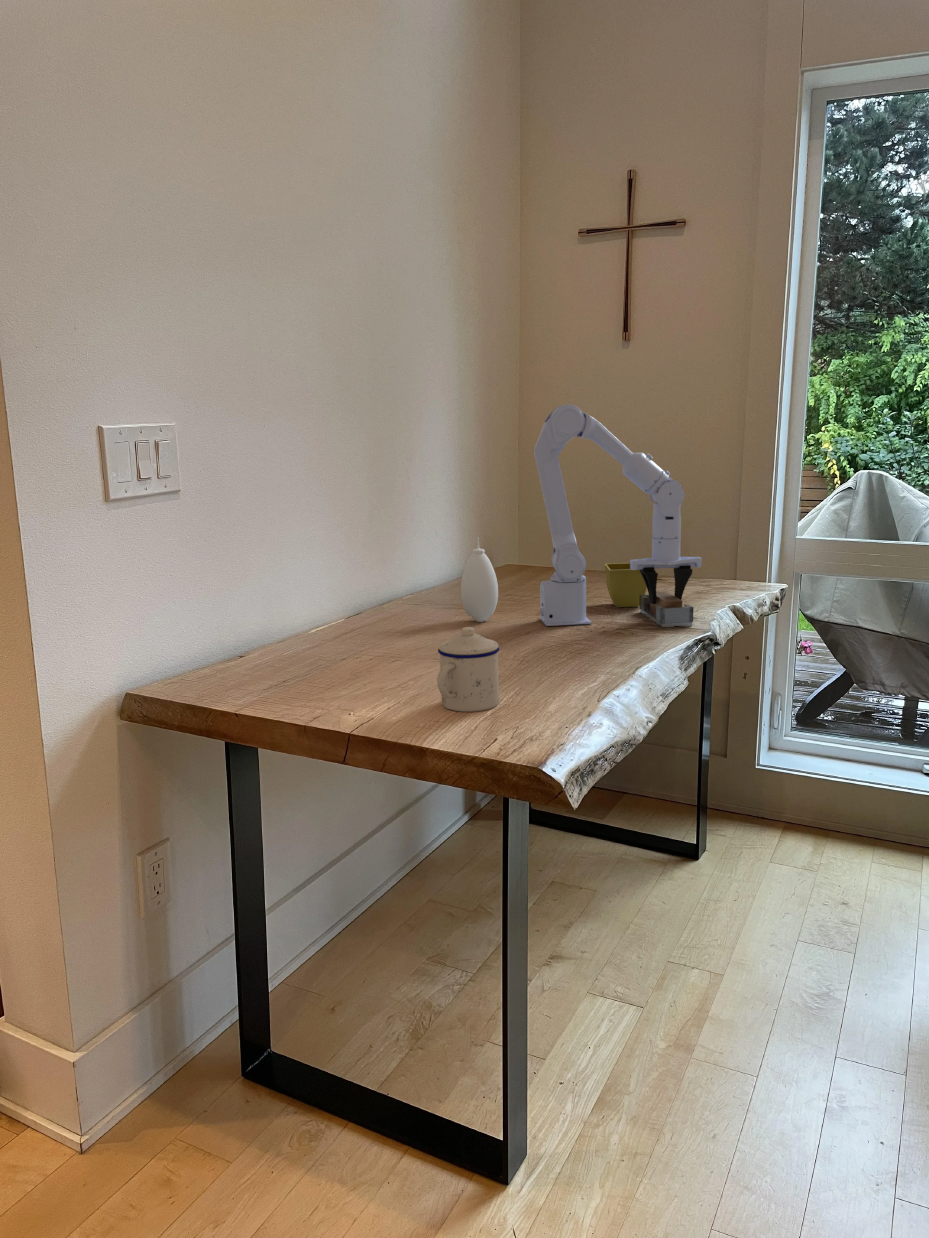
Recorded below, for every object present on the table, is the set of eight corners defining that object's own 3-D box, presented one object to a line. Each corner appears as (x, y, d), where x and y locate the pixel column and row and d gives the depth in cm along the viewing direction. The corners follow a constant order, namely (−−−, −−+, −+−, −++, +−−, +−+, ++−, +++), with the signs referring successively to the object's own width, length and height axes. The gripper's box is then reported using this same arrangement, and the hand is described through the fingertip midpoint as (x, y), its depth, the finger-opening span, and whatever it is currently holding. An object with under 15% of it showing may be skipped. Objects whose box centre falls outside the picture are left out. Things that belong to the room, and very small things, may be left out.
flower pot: (649, 608, 205) (649, 568, 204) (609, 609, 206) (609, 569, 204) (642, 601, 214) (642, 562, 212) (604, 602, 214) (604, 563, 212)
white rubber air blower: (465, 626, 194) (463, 539, 190) (458, 618, 201) (456, 535, 197) (502, 623, 195) (500, 537, 191) (494, 616, 203) (492, 533, 199)
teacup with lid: (463, 692, 146) (460, 619, 144) (512, 700, 141) (510, 625, 139) (415, 712, 137) (412, 635, 134) (466, 722, 131) (464, 641, 129)
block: (665, 620, 189) (665, 601, 188) (649, 610, 199) (649, 592, 199) (682, 620, 189) (682, 600, 188) (665, 609, 200) (665, 591, 199)
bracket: (661, 627, 186) (661, 609, 186) (639, 612, 202) (639, 594, 201) (693, 626, 187) (693, 607, 186) (668, 610, 203) (669, 593, 202)
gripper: (636, 541, 187) (636, 608, 189) (707, 538, 188) (706, 604, 191) (627, 537, 193) (627, 601, 196) (695, 534, 195) (694, 598, 197)
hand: (665, 602), depth 194 cm, fingers open, 5 cm apart
